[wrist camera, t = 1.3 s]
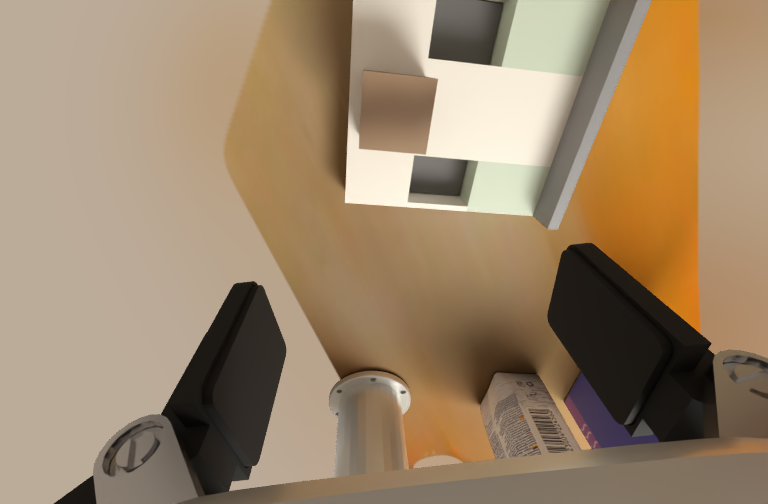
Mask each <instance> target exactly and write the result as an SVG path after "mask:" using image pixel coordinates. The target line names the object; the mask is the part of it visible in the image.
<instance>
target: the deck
mask: <svg viewBox="0 0 768 504" xmlns="http://www.w3.org/2000/svg"><path fill="white" fill-rule="evenodd" d="M487 1H493V2H487ZM651 1H652V0H485V1H480V0H353V16H352V41H351V66H350V91H349V117H348V142H347V167H346V192H345V203H357V204H371V205H385V206H399V207H413V208H427V209H441V210H456V211H470V212H484V213H498V214H512V215H526V216H534V217H535V218H536V219H537V220H538V221H539V222H540V223H541V224H542V225H544V226H545V227H546V228H547V229H554V230H558V228H559V225H560V223H561V220H562V218H563V215H564V213H565V211H566V208H567V206H568V203H569V201H570V198H571V196H572V193H573V191H574V189H575V186H576V184H577V181H578V179H579V176H580V174H581V172H582V169H583V167H584V164H585V162H586V159H587V157H588V155H589V152H590V150H591V147H592V145H593V142H594V140H595V137H596V135H597V133H598V130H599V128H600V125H601V123H602V120H603V118H604V116H605V113H606V111H607V108H608V106H609V103H610V101H611V98H612V96H613V94H614V91H615V89H616V86H617V84H618V81H619V79H620V77H621V74H622V72H623V69H624V67H625V64H626V62H627V59H628V57H629V55H630V52H631V50H632V47H633V45H634V42H635V40H636V38H637V35H638V33H639V30H640V28H641V25H642V23H643V21H644V18H645V16H646V13H647V11H648V8H649V6H650V3H651ZM494 2H500V3H494ZM501 3H503V4H501ZM430 58H431V59H430ZM438 59H439V60H438ZM447 60H448V61H447ZM455 61H456V62H455ZM464 62H465V63H464ZM472 63H473V64H472ZM481 64H482V65H481ZM363 69H364V70H373V71H382V72H390V73H399V74H408V75H417V76H426V77H431V78H436V79H438V83H437V89H436V95H435V101H434V108H433V114H432V120H431V126H430V132H429V139H428V145H427V151H426V155H423V154H412V153H401V152H389V151H378V150H366V149H359V134H360V116H361V99H362V82H363Z"/></svg>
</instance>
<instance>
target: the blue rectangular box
mask: <svg viewBox="0 0 768 504" xmlns="http://www.w3.org/2000/svg"><path fill="white" fill-rule="evenodd" d="M564 403H565V404H566V406H567V408H568V409H569V411H570V413H571V414H572V416H573V418H574V420H575V421H576V423H577V425H578V426H579V428H580V430H581V431H582V433H583V435H584V436H585V438H586V440H587V441H588V443H589V445H590V446H591V448H592V449H599V448H608V447H618V446H627V445H637V444H648V443H660V441H659V440H658V438H657V437H656V436H655V434H654V433H653V435H647V436H638V437H631V436H630V434H629V433H628V431H627V430H626V429H625V427H624V426H623V425H620V424H618V423H617V422H616V421H615V420H614V419H613V417H612V416H611V414H610V413H609V411H608V410H607V409H606V407H605V406H604V404H603V403H602V401H601V400H600V398H599V397H598V395H597V394H596V392H595V391H594V389H593V388H592V386H591V385H590V384H589V382H588V381H587V379H586V378H585V376H584V375H583V373H582V372H580V374H579V376H578V377H577V379H576V381H575V382H574V384H573V386H572V388H571V389H570V391H569V393H568V395H567V396H566V398H565V400H564Z"/></svg>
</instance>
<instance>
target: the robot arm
mask: <svg viewBox="0 0 768 504" xmlns="http://www.w3.org/2000/svg"><path fill="white" fill-rule="evenodd" d="M547 316H548V322H549V324H550V326H551V328H552V329H553V331H554V332H555V334H556V335H557V336H558V338H559V339H560V341H561V342H562V344H563V345H564V347H565V348H566V350H567V351H568V353H569V354H570V356H571V357H572V359H573V360H574V361H575V363H576V364H577V366H578V367H579V369H580V370H581V372H582V373H583V375H584V376H585V378H586V379H587V381H588V382H589V384H590V385H591V386H592V388H593V389H594V391H595V392H596V394H597V395H598V397H599V398H600V400H601V401H602V403H603V404H604V406H605V407H606V409H607V410H608V411H609V413H610V414H611V416H612V417H613V419H614V420H615V421H616V422H617V423H618V424H620V425H623V426H624V427H625V429H626V430H627V431H628V433H629V434H630V436H631V437H638V436H647V435H653V433H654V434H655V436H656V437H657V438H658V440H659V441H660V443H648V444H637V445H627V446H618V447H608V448H599V449H589V450H580V451H570V452H561V453H551V454H542V455H532V456H523V457H514V458H505V459H496V460H486V461H477V462H468V463H459V464H450V465H441V466H432V467H423V468H414V469H409V467H408V459H407V450H406V441H405V432H404V423H403V414H404V413H405V412H406V411H407V410H408V408H409V406H410V403H411V396H410V391H409V388H408V386H407V385H406V383H405V382H404V381H403V380H401V379H400V378H399V377H397V376H395V375H393V374H390V373H387V372H381V371H362V372H357V373H354V374H351V375H348V376H346V377H345V378H343V379H341V380H340V381H339V382H337V383H336V384H335V386H334V387H333V388H332V390H331V392H330V397H329V406H330V409H331V411H332V413H333V414H334V415H335V416H336V417H337V418H338V427H337V441H336V455H335V469H334V478H328V479H320V480H311V481H302V482H294V483H286V484H279V485H271V486H265V487H257V488H249V489H242V490H235V491H229V489H230V486H231V482H232V481H240V480H248V479H249V476H250V473H251V469H252V466H255V465H257V463H258V461H259V459H260V455H261V451H262V447H263V443H264V439H265V435H266V432H267V427H268V424H269V420H270V415H271V412H272V408H273V404H274V400H275V396H276V392H277V388H278V384H279V380H280V376H281V372H282V368H283V364H284V360H285V357H286V345H285V342H284V339H283V337H282V334H281V332H280V329H279V326H278V324H277V321H276V319H275V316H274V313H273V311H272V308H271V306H270V303H269V300H268V298H267V295H266V293H265V290H264V288H263V286H261V285H257V283H255V282H254V281H253V282H244V283H236V284H234V285H233V287H232V289H231V290H230V292H229V294H228V296H227V298H226V299H225V301H224V303H223V305H222V307H221V308H220V310H219V312H218V314H217V316H216V317H215V320H214V321H213V323H212V325H211V326H210V328H209V330H208V332H207V333H206V334H205V336H204V338H203V340H202V341H201V343H200V345H199V347H198V349H197V350H196V352H195V354H194V356H193V358H192V359H191V361H190V363H189V365H188V367H187V368H186V370H185V372H184V374H183V376H182V377H181V379H180V381H179V383H178V385H177V386H176V388H175V390H174V392H173V394H172V395H171V397H170V399H169V401H168V403H167V404H166V406H165V408H164V410H163V412H162V413H161V415H160V414H158V415H148V416H145V417H141V418H139V419H137V420H135V421H133V422H131V423H129V424H128V425H127V426H125V427H124V428H122V429H121V430H119V431H118V432H117V433H116V434H115V435H114V436H113V437H112V438H111V439H110V440H109V441H108V442H107V443H106V445H105V446H104V447H103V449H102V450H101V451H100V453H99V455H98V457H97V459H96V461H95V464H94V470H93V476H91V477H90V478H89V479H87V480H86V481H84V482H83V483H82V484H80V485H79V486H78V487H76V488H75V489H73V490H72V491H71V492H69V493H68V494H66V495H65V496H64V497H62V498H61V499H60V500H58V501H57V502H56V503H54V504H768V358H765V357H762V356H760V355H757V354H754V353H750V352H745V351H740V350H726V351H720V352H719V353H717V354H716V355H714V354H713V353H712V352H711V351H710V350H709V349H708V348H709V346H710V345H711V342H709V341H708V340H707V339H706V338H705V337H703V336H702V335H701V334H700V333H699V332H697V331H696V330H695V329H694V328H693V327H691V326H690V325H689V324H688V323H687V322H686V321H684V320H683V319H682V318H681V317H680V316H678V315H677V314H676V313H675V312H674V311H672V310H671V309H670V308H669V307H668V306H666V305H665V304H664V303H663V302H662V301H661V300H659V299H658V298H657V297H656V296H655V295H653V294H652V293H651V292H650V291H649V290H647V289H646V288H645V287H644V286H643V285H641V284H640V283H639V282H638V281H637V280H636V279H634V278H633V277H632V276H631V275H630V274H628V273H627V272H626V271H625V270H624V269H622V268H621V267H620V266H619V265H618V264H616V263H615V262H614V261H613V260H612V259H611V258H609V257H608V256H607V255H606V254H605V253H603V252H602V251H601V250H600V249H599V248H597V247H596V246H595V245H594V244H592V243H583V244H574V245H570V246H569V247H568V248H567V250H565V251H563V252H562V255H561V259H560V263H559V267H558V272H557V276H556V280H555V284H554V289H553V293H552V297H551V302H550V306H549V310H548V315H547Z"/></svg>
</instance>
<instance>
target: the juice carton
mask: <svg viewBox="0 0 768 504" xmlns="http://www.w3.org/2000/svg"><path fill="white" fill-rule="evenodd" d="M480 410H481V415H482V419H483V423H484V426H485V429H486V432H487V435H488V438H489V441H490V444H491V447H492V450H493V453H494V456H495V459H505V458H514V457H523V456H532V455H542V454H551V453H561V452H570V451H580V450H581V449H580V447H579V445H578V443H577V442H576V440H575V438H574V436H573V434H572V433H571V431H570V429H569V427H568V426H567V424H566V422H565V420H564V419H563V417H562V415H561V413H560V412H559V410H558V408H557V406H556V404H555V403H554V401H553V399H552V397H551V396H550V394H549V392H548V390H547V389H546V387H545V385H544V383H543V382H542V380H541V379H540V377H539V376H538V375H536V374H514V373H495V375H494V377H493V379H492V381H491V384H490V387H489V389H488V391H487V393H486V395H485V397H484V399H483V401H482V403H481V406H480Z"/></svg>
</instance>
